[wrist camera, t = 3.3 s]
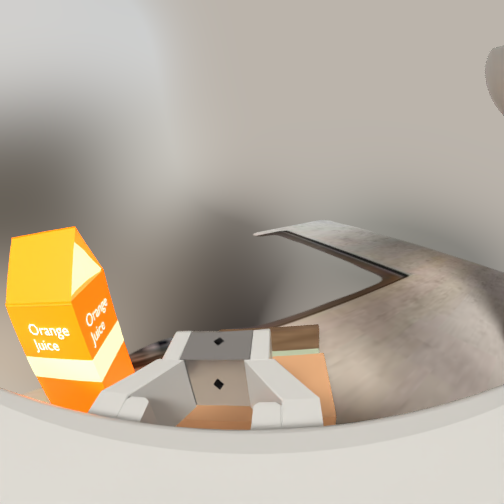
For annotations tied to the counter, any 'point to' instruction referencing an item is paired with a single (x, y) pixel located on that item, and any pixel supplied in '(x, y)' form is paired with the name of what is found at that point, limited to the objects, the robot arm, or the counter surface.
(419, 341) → the counter surface
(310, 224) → the counter surface
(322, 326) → the counter surface
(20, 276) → the orange juice
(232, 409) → the block
